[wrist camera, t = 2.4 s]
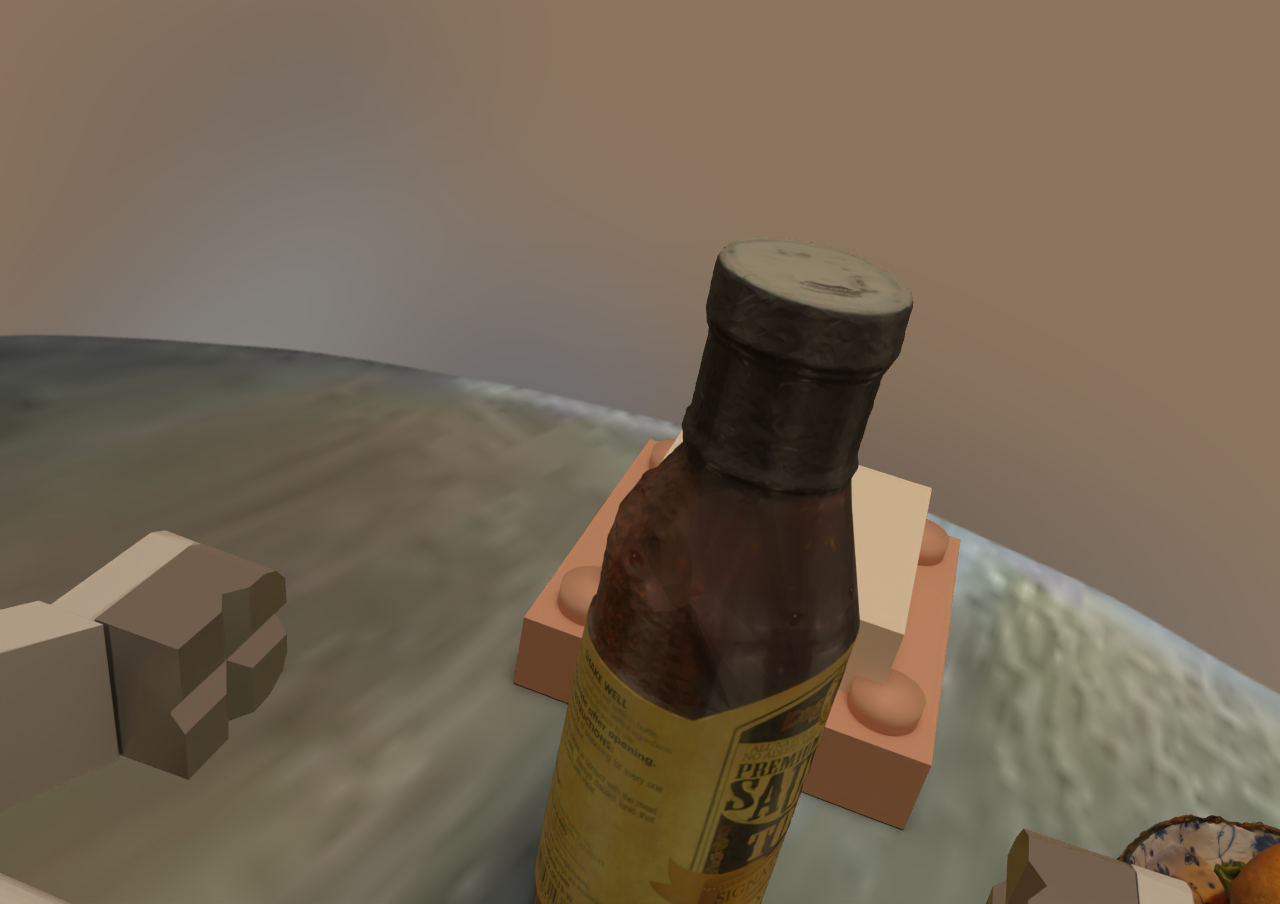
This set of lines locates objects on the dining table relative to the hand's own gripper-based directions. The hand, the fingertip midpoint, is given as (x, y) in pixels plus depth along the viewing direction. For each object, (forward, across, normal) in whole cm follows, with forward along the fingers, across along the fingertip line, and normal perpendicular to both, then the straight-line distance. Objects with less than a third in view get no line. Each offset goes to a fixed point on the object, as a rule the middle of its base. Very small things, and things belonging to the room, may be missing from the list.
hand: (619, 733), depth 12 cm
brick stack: (+26, +1, +19) cm, 32 cm away
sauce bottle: (+12, +1, +19) cm, 23 cm away
